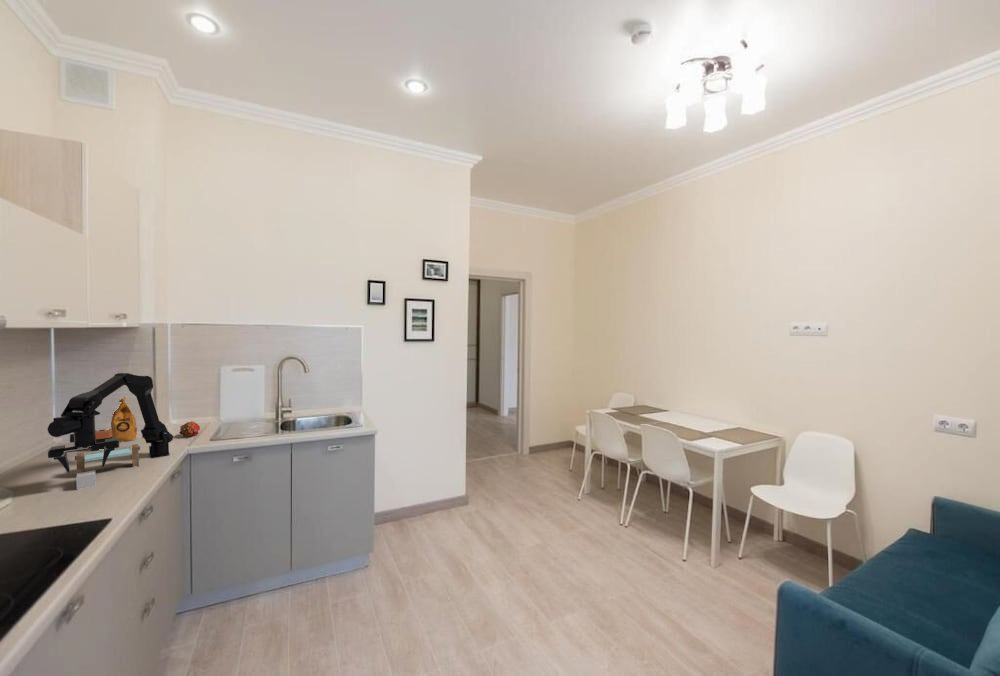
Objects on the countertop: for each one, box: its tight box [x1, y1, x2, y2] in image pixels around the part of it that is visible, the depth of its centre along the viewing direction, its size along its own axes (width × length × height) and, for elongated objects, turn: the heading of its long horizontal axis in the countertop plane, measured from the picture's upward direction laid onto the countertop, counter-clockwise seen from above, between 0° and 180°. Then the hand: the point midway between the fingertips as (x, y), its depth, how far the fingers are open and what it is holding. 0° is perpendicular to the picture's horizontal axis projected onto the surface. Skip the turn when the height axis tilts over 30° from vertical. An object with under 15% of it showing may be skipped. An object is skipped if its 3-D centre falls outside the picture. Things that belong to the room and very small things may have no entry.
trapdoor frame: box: [74, 443, 141, 474], centre depth 172 cm, size 20×5×8 cm, turn 133°
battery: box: [90, 427, 113, 452], centre depth 197 cm, size 4×7×10 cm, turn 123°
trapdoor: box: [84, 445, 132, 462], centre depth 172 cm, size 14×11×3 cm
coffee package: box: [110, 396, 138, 442], centre depth 213 cm, size 10×12×22 cm
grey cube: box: [75, 469, 97, 490], centre depth 156 cm, size 5×5×5 cm
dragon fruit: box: [178, 420, 201, 438], centre depth 221 cm, size 8×8×12 cm
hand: (86, 469), depth 156 cm, fingers open, 9 cm apart
